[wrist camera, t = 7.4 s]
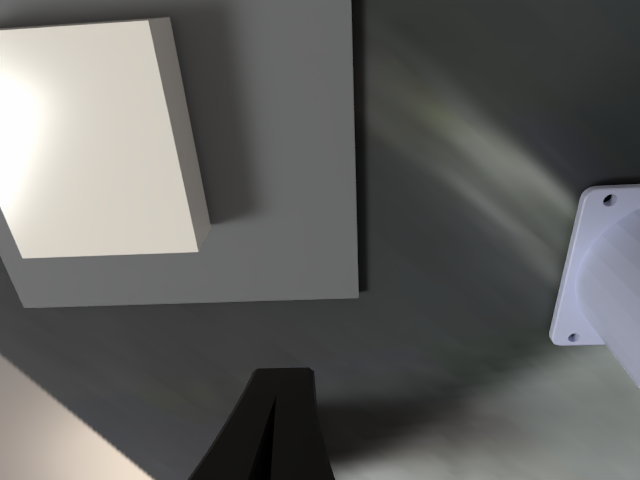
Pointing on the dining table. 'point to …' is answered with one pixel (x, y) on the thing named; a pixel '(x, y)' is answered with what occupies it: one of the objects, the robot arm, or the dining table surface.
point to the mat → (233, 158)
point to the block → (97, 141)
